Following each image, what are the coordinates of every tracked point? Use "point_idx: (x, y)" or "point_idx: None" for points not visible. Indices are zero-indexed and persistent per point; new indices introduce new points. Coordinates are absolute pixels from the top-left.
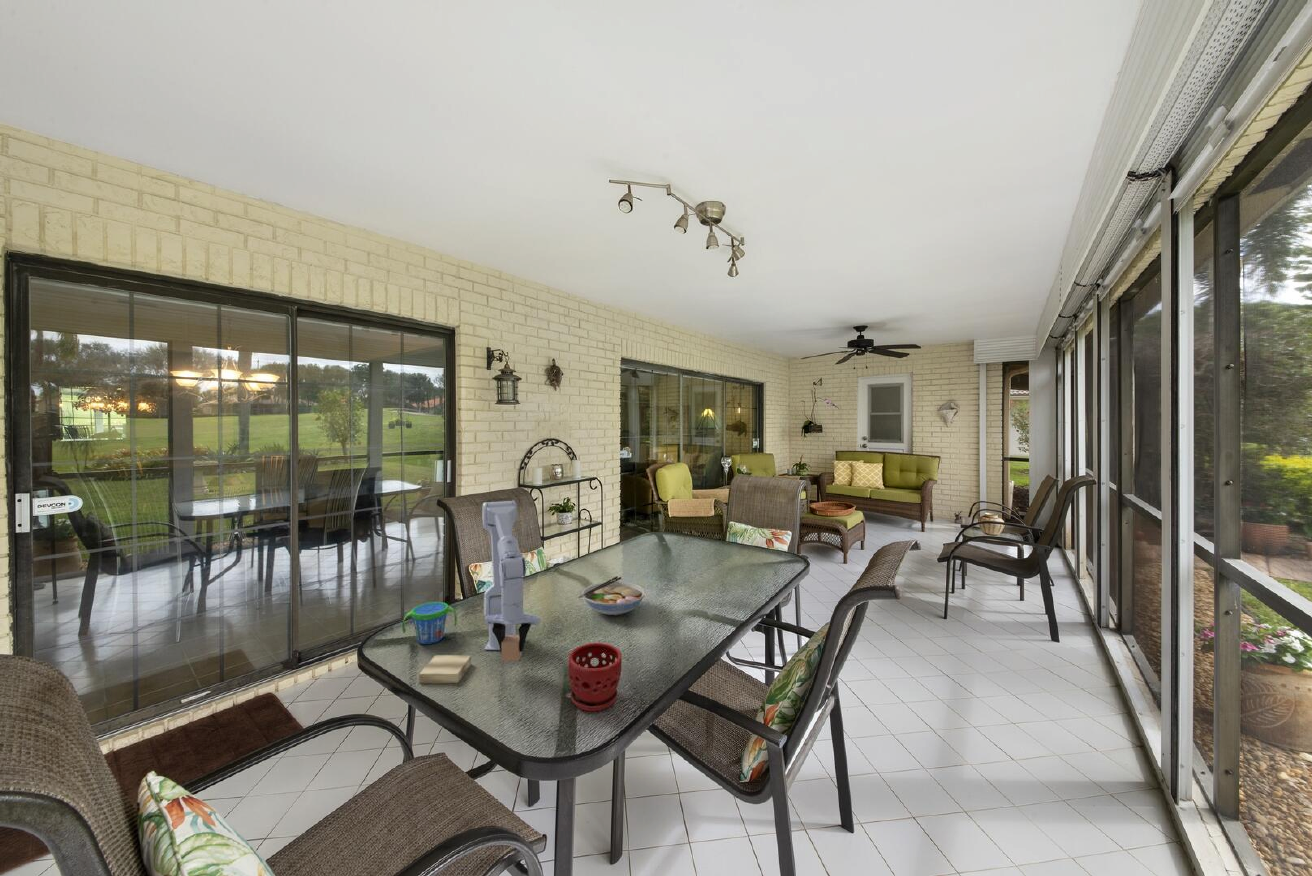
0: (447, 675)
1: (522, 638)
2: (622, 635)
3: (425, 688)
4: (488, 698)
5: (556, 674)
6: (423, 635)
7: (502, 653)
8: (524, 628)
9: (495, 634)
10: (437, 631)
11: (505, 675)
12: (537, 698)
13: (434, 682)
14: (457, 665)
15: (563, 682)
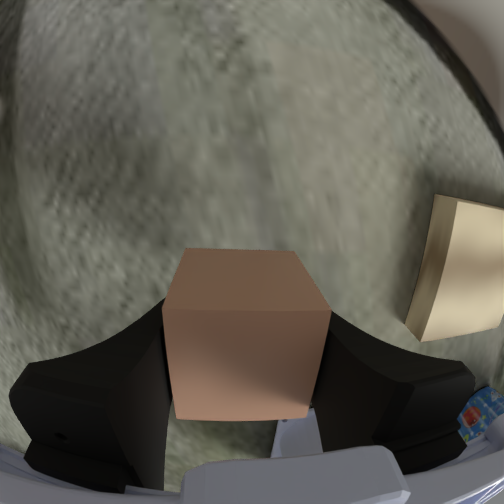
0: (478, 204)
1: (121, 342)
2: (6, 424)
3: (498, 175)
4: (294, 58)
5: (51, 247)
6: (499, 397)
7: (298, 268)
8: (40, 406)
9: (417, 355)
10: (478, 417)
11: (262, 243)
12: (85, 64)
13: (487, 204)
14: (460, 268)
15: (17, 189)
